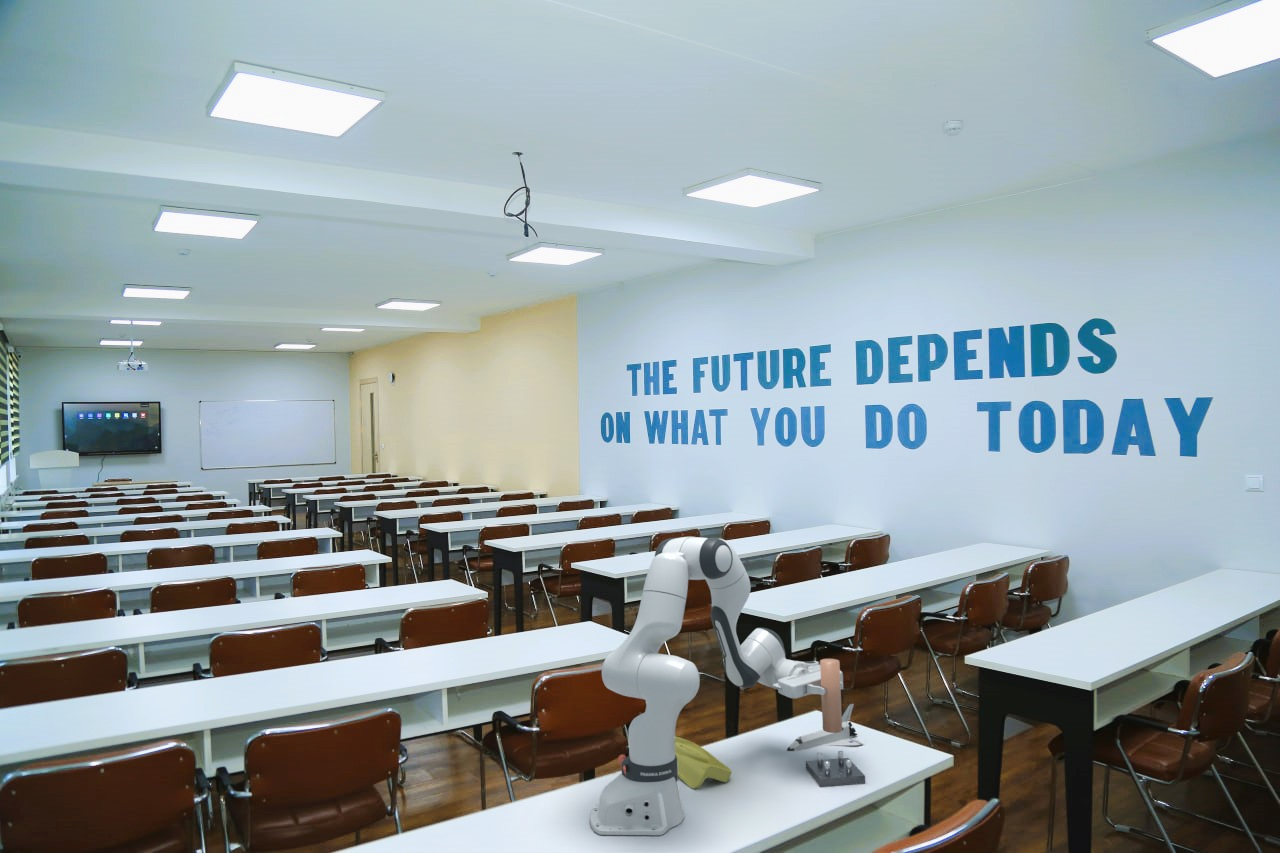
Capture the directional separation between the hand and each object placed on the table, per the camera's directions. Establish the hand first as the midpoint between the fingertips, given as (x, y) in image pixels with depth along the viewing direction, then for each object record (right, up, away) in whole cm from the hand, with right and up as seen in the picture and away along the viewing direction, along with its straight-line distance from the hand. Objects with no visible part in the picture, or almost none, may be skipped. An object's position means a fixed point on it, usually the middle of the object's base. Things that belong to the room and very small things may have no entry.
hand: (833, 689), depth 210 cm
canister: (0, -11, 0) cm, 11 cm away
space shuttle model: (+2, -24, +24) cm, 34 cm away
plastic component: (-35, -25, +5) cm, 43 cm away
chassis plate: (0, -23, 0) cm, 23 cm away
